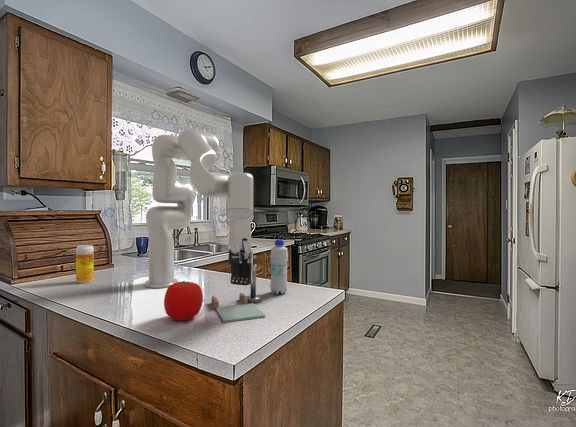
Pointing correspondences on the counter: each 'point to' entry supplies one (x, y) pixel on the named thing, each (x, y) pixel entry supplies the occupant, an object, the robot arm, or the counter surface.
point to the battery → (234, 269)
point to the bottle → (279, 267)
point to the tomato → (183, 300)
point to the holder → (241, 298)
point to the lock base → (254, 299)
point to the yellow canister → (84, 263)
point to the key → (253, 285)
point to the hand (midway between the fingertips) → (240, 273)
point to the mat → (239, 312)
